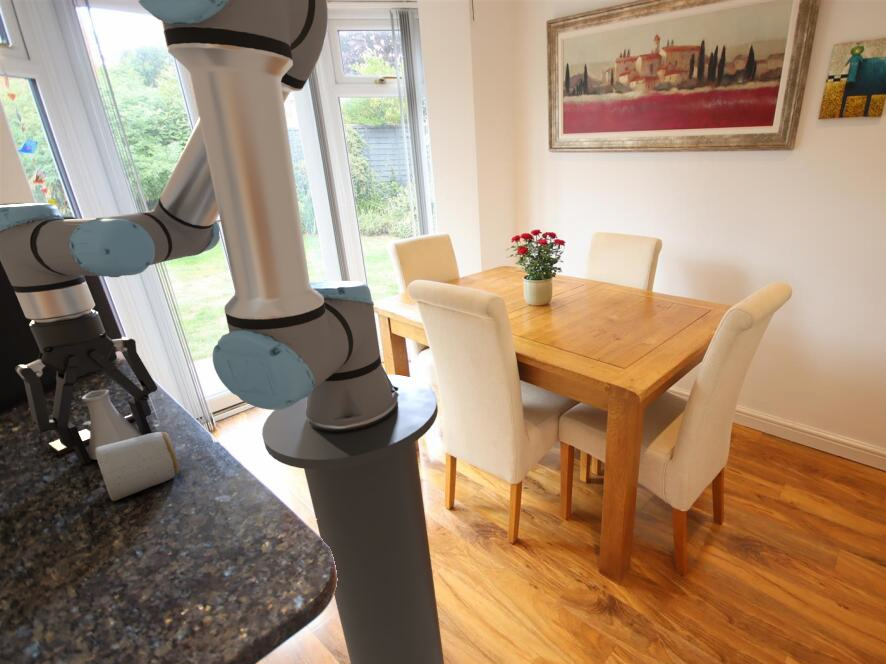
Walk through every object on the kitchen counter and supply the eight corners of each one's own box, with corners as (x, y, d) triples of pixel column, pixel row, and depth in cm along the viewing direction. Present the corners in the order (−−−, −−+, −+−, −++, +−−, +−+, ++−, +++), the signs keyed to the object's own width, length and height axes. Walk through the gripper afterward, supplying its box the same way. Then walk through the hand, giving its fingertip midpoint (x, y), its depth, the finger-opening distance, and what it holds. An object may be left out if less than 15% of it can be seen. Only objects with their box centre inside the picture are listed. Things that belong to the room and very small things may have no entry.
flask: (131, 457, 73) (109, 401, 69) (78, 465, 71) (52, 408, 68) (152, 432, 79) (133, 380, 76) (104, 439, 78) (82, 387, 74)
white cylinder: (187, 482, 66) (171, 436, 64) (115, 511, 61) (94, 462, 58) (172, 453, 73) (157, 411, 71) (106, 478, 68) (87, 433, 65)
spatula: (131, 415, 85) (129, 409, 85) (142, 421, 83) (140, 415, 83) (50, 447, 76) (47, 441, 76) (60, 455, 74) (57, 448, 74)
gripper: (133, 294, 77) (174, 413, 85) (-49, 332, 61) (24, 475, 69) (155, 299, 73) (195, 423, 82) (-33, 342, 57) (42, 491, 65)
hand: (117, 446), depth 75 cm, fingers closed on flask, 8 cm apart
